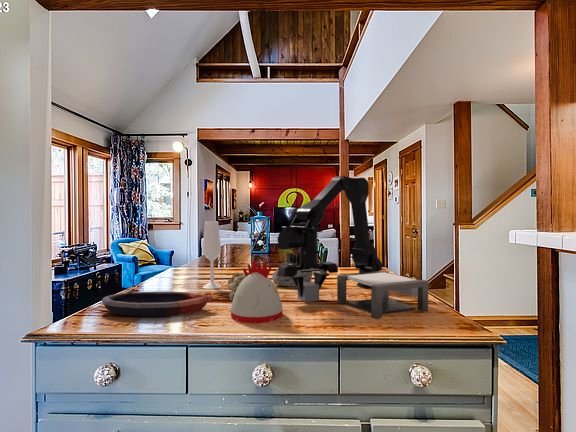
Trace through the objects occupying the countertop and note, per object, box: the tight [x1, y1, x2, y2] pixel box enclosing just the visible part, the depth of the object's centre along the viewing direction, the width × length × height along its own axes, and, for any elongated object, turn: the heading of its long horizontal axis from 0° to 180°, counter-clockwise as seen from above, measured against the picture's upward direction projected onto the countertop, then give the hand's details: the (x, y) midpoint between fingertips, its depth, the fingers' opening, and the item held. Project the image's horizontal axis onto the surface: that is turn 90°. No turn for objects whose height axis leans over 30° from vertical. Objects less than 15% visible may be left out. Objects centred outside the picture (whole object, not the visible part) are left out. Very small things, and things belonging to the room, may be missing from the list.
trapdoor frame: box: [336, 270, 429, 320], centre depth 115 cm, size 18×19×8 cm
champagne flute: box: [201, 220, 222, 290], centre depth 143 cm, size 7×7×24 cm
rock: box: [271, 261, 314, 288], centre depth 146 cm, size 16×8×10 cm, turn 84°
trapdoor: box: [347, 272, 418, 297], centre depth 115 cm, size 18×14×5 cm
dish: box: [101, 289, 213, 318], centre depth 110 cm, size 16×31×5 cm, turn 87°
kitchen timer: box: [230, 259, 283, 324], centre depth 106 cm, size 14×14×15 cm
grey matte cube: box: [297, 281, 320, 303], centre depth 124 cm, size 5×5×5 cm
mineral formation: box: [227, 271, 246, 302], centre depth 128 cm, size 8×13×15 cm
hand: (308, 296), depth 124 cm, fingers closed on grey matte cube, 5 cm apart
